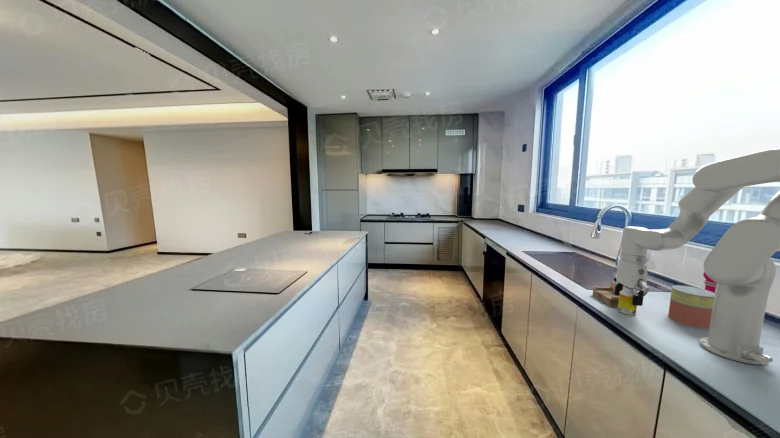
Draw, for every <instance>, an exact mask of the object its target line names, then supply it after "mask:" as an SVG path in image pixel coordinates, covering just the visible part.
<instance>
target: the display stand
mask: <svg viewBox="0 0 780 438" xmlns="http://www.w3.org/2000/svg"><path fill="white" fill-rule="evenodd" d="M615 286H616V285H615V281H614V280H613V281H610V287H609V286H595V287H594V288H593V290H592V296H593V297H594V298H596V299H598V300H599V301H601V302H602V301H603V303H604V304H606V305H608V306H609V307H614V308H615V307H616V308H618V303H619V295H615V294H614V293H615Z"/></svg>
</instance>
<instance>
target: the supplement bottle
mask: <svg viewBox="0 0 780 438" xmlns="http://www.w3.org/2000/svg"><path fill="white" fill-rule="evenodd" d="M633 295H635V294H634V291H633V289H631V288H629V287H627V286H625V285H623V290H622V291H620V294H619V303H618V307H617V311H619V313H622V314H625V315H630V316H633V315H636V314H637V311H638V310H637V308H638V306H634V305H632V301H633Z"/></svg>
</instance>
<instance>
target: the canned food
mask: <svg viewBox="0 0 780 438" xmlns="http://www.w3.org/2000/svg"><path fill="white" fill-rule="evenodd" d="M670 292H671V293H670V300H669V307H668V313H667V318H668V319H670V321H672V322H675V323H677V324H680V325H682V326H686V327H690V328H695V329H699V330H700V329H701V330H709V327H710V321H711V314H712V308H713V301H714V295H715V293H713V292H711V291H708V290H705V288H701V287H696V286H691V285H690V286H689V285H684V284H683V285H682V284H681V285H680V284H675V285H674V284H673V285H671V291H670Z"/></svg>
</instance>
